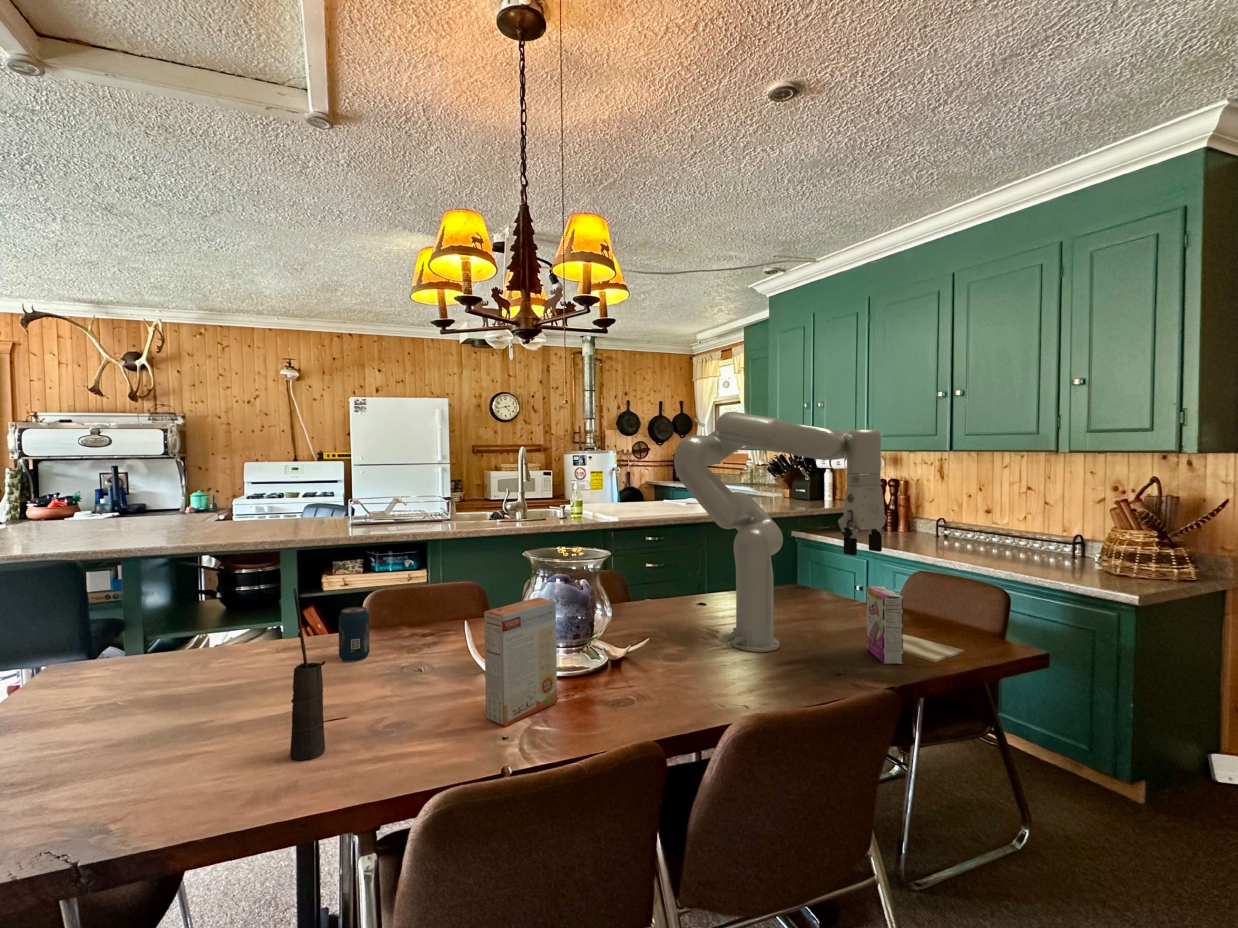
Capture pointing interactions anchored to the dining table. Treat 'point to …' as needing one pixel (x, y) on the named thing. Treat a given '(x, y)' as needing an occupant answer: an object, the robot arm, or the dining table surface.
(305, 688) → the butter churn
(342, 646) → the soda can
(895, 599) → the candy bar box
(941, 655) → the beige flat rectangular panel
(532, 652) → the cracker box
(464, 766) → the dining table surface
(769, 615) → the robot arm
